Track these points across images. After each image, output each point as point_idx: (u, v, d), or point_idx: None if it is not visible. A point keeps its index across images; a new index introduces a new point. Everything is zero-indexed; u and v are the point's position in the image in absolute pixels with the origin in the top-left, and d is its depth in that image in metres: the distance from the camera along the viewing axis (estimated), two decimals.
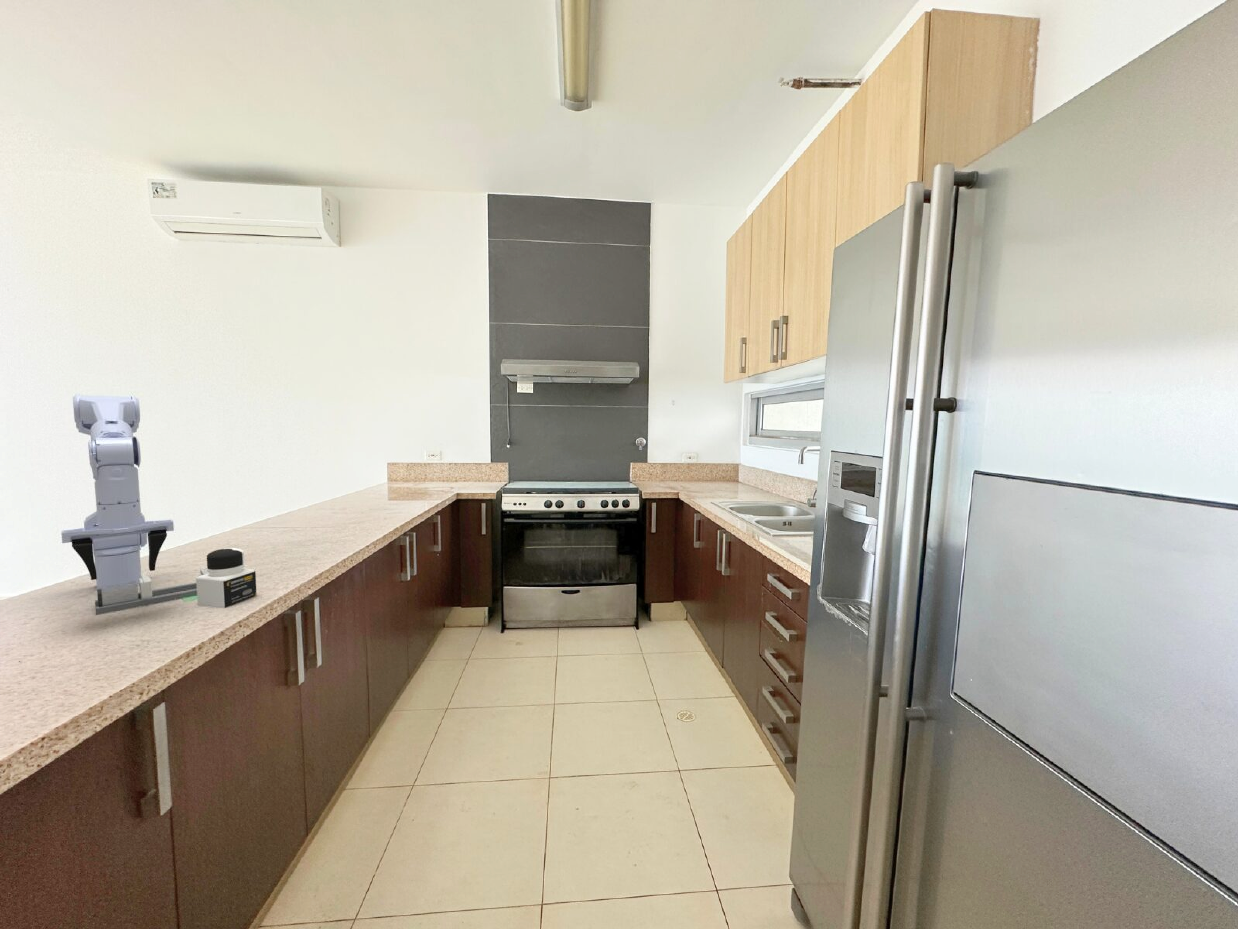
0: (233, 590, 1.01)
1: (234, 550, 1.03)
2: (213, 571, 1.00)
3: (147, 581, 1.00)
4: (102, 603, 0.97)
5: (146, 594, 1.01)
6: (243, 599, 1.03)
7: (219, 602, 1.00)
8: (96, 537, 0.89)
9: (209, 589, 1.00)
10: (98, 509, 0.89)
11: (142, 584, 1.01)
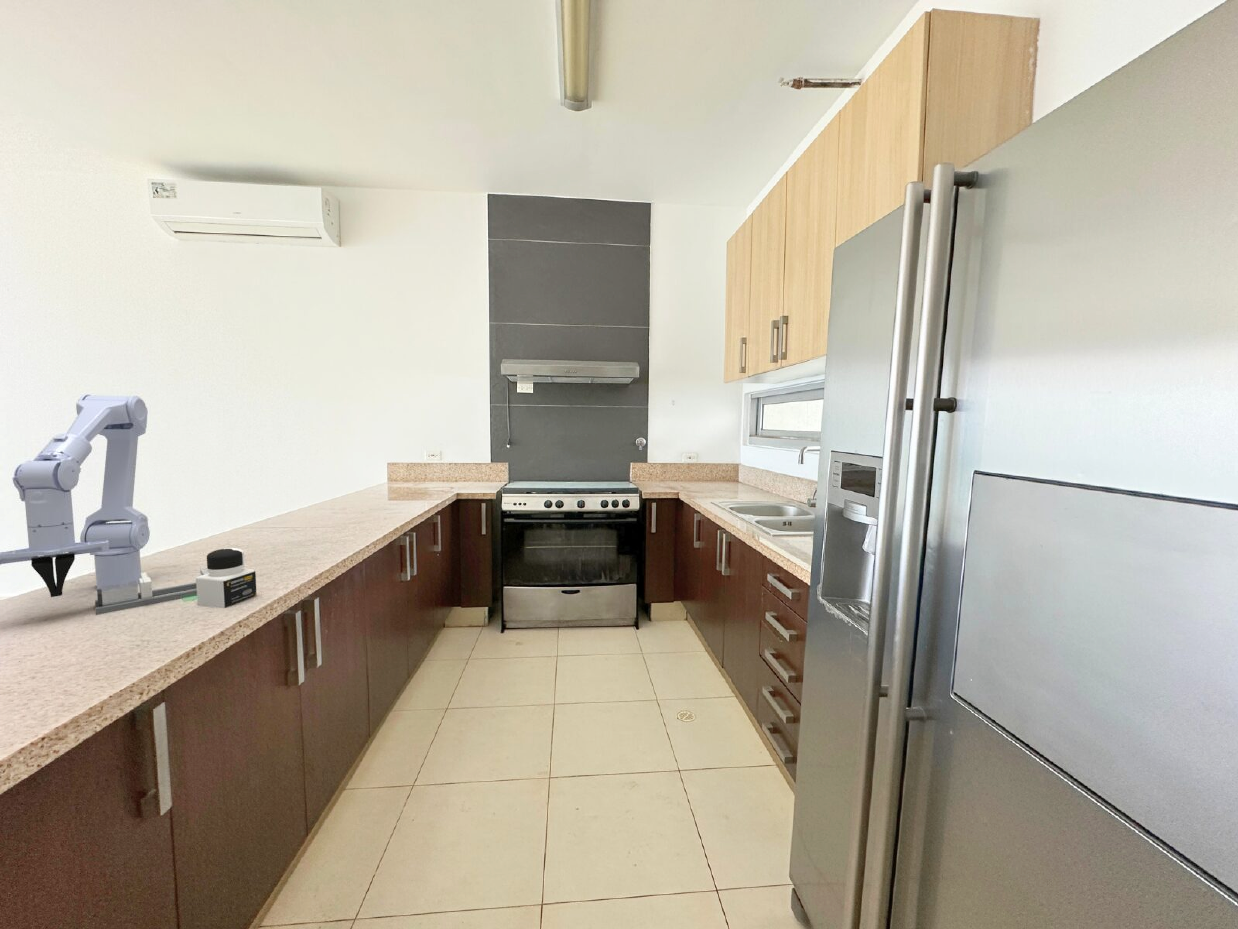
0: (233, 590, 1.01)
1: (234, 550, 1.03)
2: (213, 571, 1.00)
3: (147, 581, 1.00)
4: (102, 603, 0.97)
5: (146, 594, 1.01)
6: (243, 599, 1.03)
7: (219, 602, 1.00)
8: (26, 560, 0.90)
9: (209, 589, 1.00)
10: (29, 532, 0.90)
11: (142, 584, 1.01)
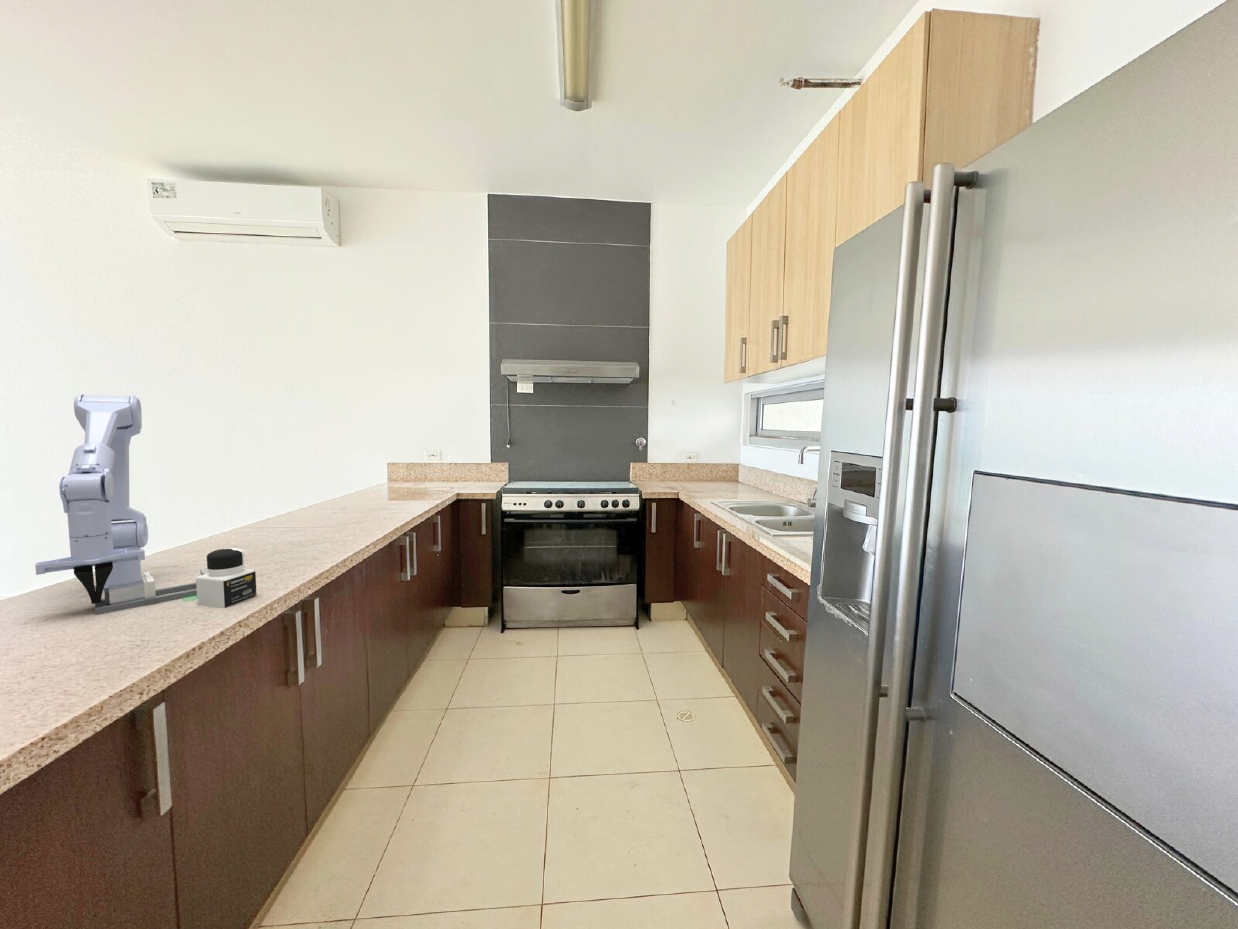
0: (233, 590, 1.01)
1: (234, 550, 1.03)
2: (213, 571, 1.00)
3: (150, 580, 1.00)
4: (109, 602, 0.97)
5: (150, 594, 1.02)
6: (243, 599, 1.03)
7: (219, 602, 1.00)
8: (69, 568, 0.94)
9: (209, 589, 1.00)
10: (71, 542, 0.94)
11: (145, 583, 1.01)
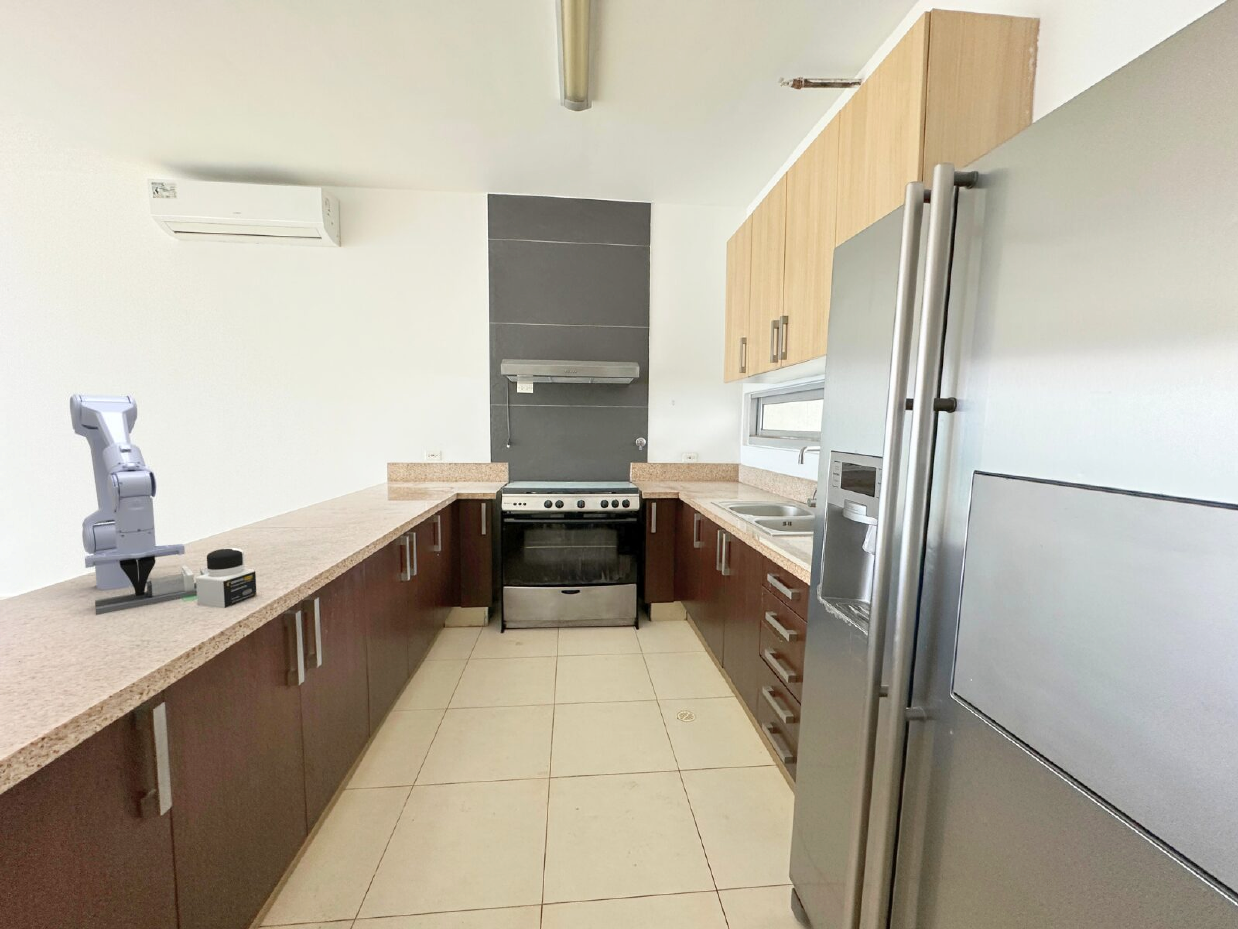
0: (233, 590, 1.01)
1: (234, 550, 1.03)
2: (213, 571, 1.00)
3: (190, 574, 1.05)
4: (152, 594, 1.02)
5: (189, 587, 1.06)
6: (243, 599, 1.03)
7: (219, 602, 1.00)
8: (115, 562, 0.99)
9: (209, 589, 1.00)
10: (117, 536, 0.98)
11: (185, 577, 1.05)
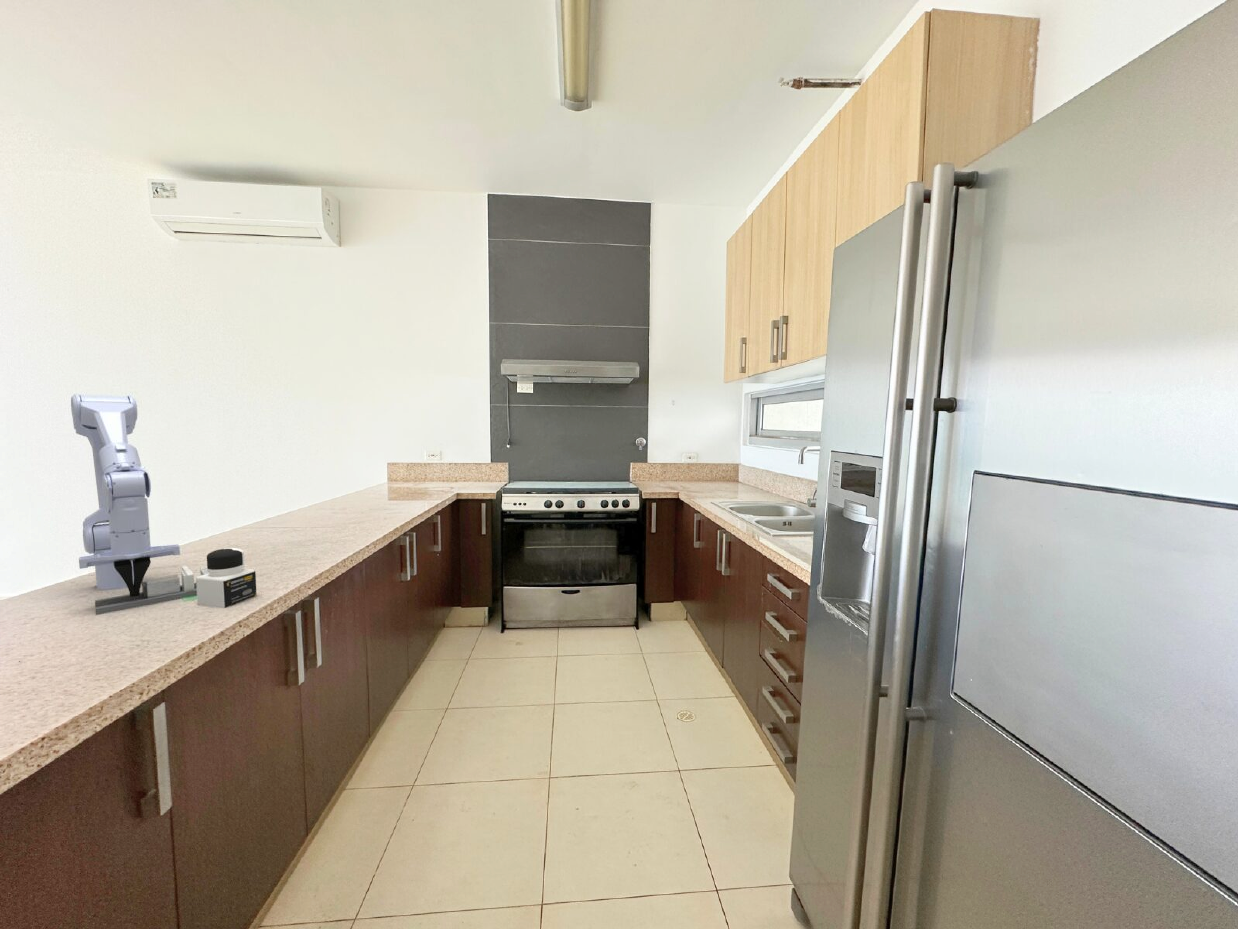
0: (233, 590, 1.01)
1: (234, 550, 1.03)
2: (213, 571, 1.00)
3: (190, 574, 1.05)
4: (147, 595, 1.01)
5: (189, 587, 1.06)
6: (243, 599, 1.03)
7: (219, 602, 1.00)
8: (109, 563, 0.98)
9: (209, 589, 1.00)
10: (111, 537, 0.98)
11: (185, 577, 1.05)
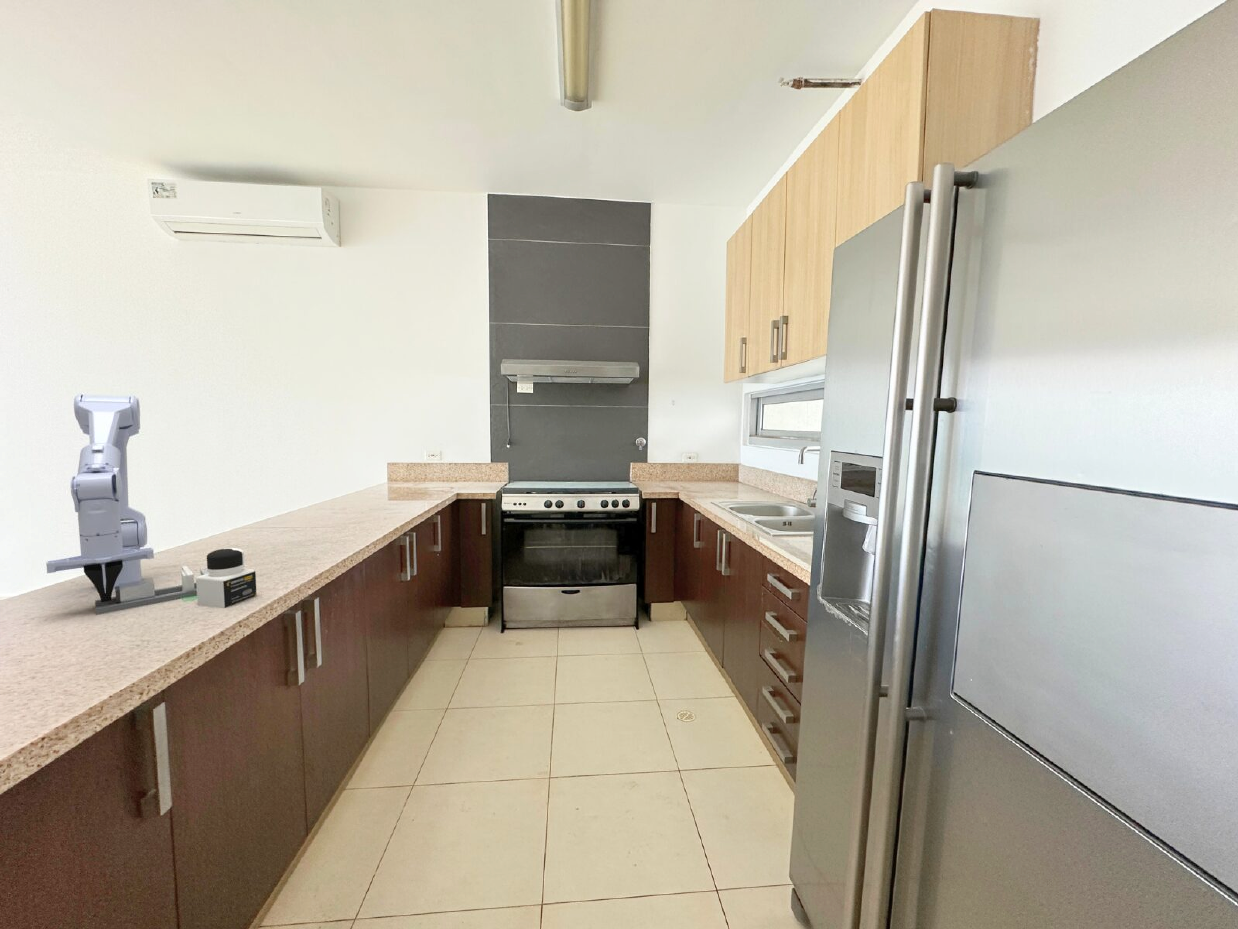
0: (233, 590, 1.01)
1: (234, 550, 1.03)
2: (213, 571, 1.00)
3: (190, 574, 1.05)
4: (120, 600, 0.98)
5: (189, 587, 1.06)
6: (243, 599, 1.03)
7: (219, 602, 1.00)
8: (79, 567, 0.95)
9: (209, 589, 1.00)
10: (81, 540, 0.95)
11: (185, 577, 1.05)
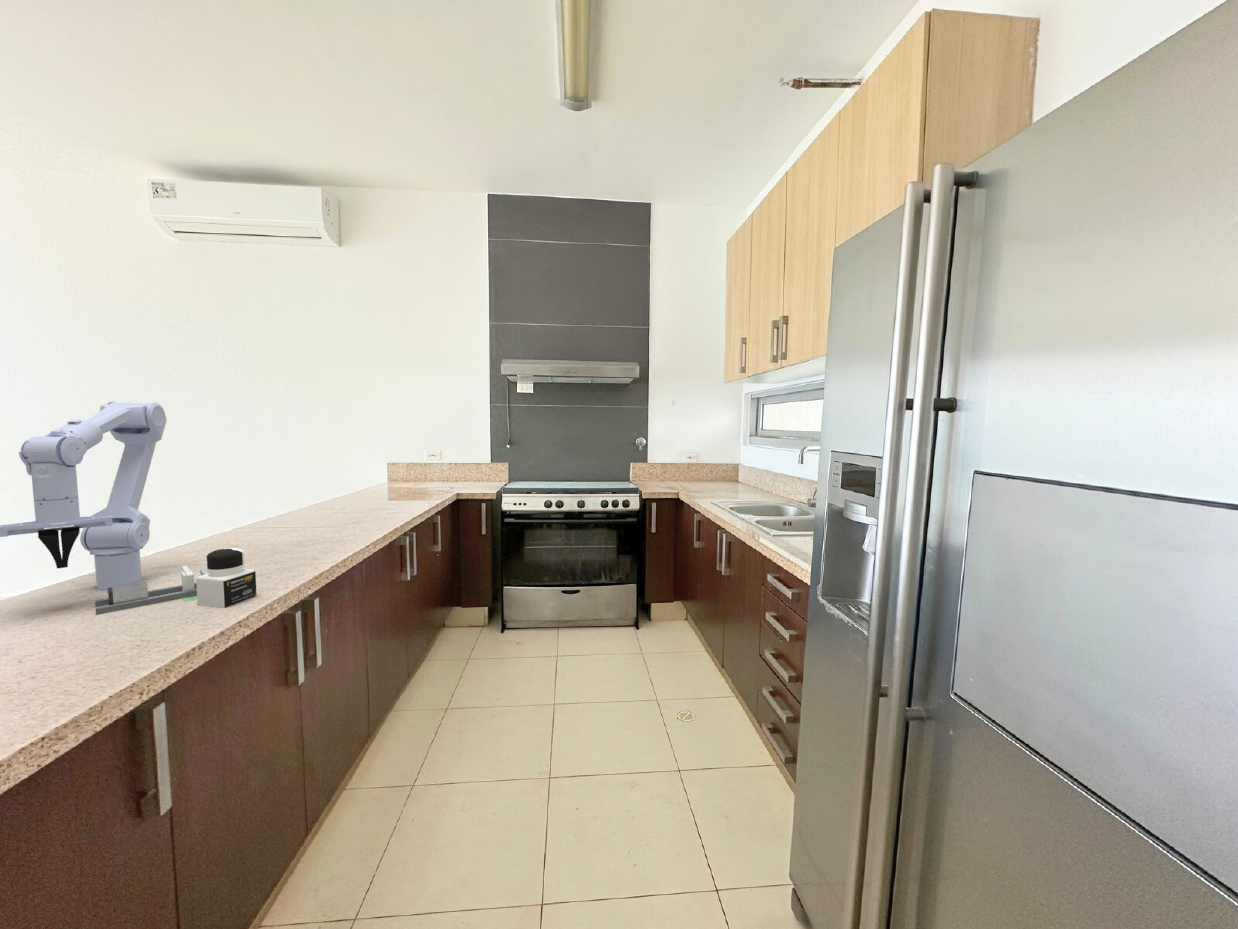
0: (233, 590, 1.01)
1: (234, 550, 1.03)
2: (213, 571, 1.00)
3: (190, 574, 1.05)
4: (113, 601, 0.98)
5: (189, 587, 1.06)
6: (243, 599, 1.03)
7: (219, 602, 1.00)
8: (33, 532, 0.94)
9: (209, 589, 1.00)
10: (35, 505, 0.93)
11: (185, 577, 1.05)
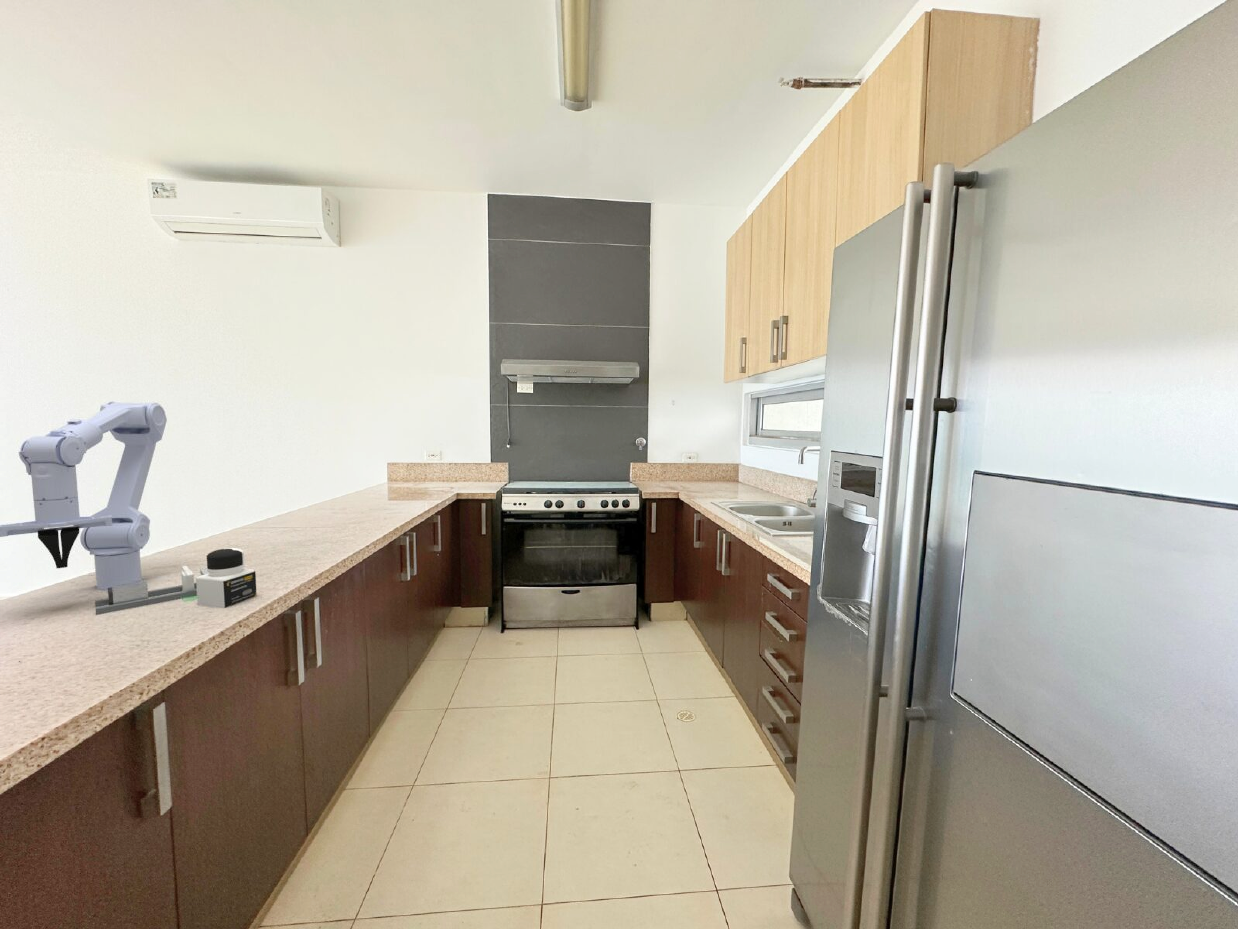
0: (233, 590, 1.01)
1: (234, 550, 1.03)
2: (213, 571, 1.00)
3: (190, 574, 1.05)
4: (113, 601, 0.98)
5: (189, 587, 1.06)
6: (243, 599, 1.03)
7: (219, 602, 1.00)
8: (33, 532, 0.94)
9: (209, 589, 1.00)
10: (35, 505, 0.93)
11: (185, 577, 1.05)
